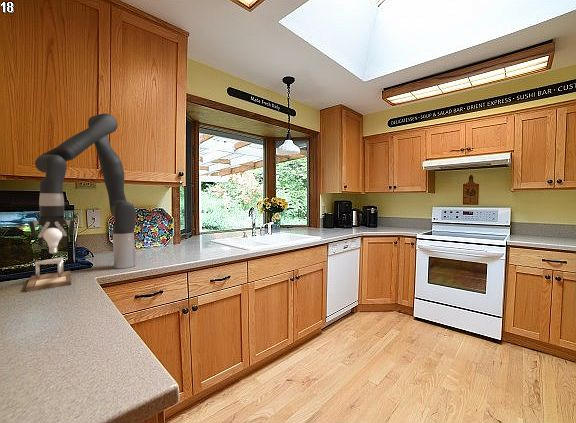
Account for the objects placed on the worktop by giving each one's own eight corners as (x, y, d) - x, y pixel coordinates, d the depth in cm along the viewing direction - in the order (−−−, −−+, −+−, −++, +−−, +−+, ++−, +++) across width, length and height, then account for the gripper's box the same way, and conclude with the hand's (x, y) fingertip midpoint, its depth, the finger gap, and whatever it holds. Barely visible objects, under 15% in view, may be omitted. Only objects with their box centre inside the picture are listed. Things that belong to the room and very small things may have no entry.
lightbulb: (39, 255, 106) (38, 227, 106) (48, 252, 112) (48, 226, 112) (58, 254, 108) (57, 227, 107) (66, 251, 114) (66, 225, 113)
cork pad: (66, 277, 113) (66, 276, 113) (65, 281, 108) (65, 280, 108) (36, 281, 108) (36, 280, 108) (35, 286, 102) (35, 284, 102)
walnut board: (70, 273, 124) (70, 270, 124) (70, 284, 109) (70, 281, 109) (31, 279, 116) (31, 275, 116) (26, 291, 100) (25, 287, 100)
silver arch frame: (63, 272, 121) (63, 256, 121) (63, 277, 114) (62, 260, 114) (36, 275, 116) (36, 259, 115) (34, 281, 108) (34, 263, 108)
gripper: (74, 204, 117) (75, 243, 117) (28, 204, 108) (30, 246, 108) (74, 204, 111) (75, 245, 111) (26, 205, 102) (27, 249, 102)
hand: (53, 245), depth 110 cm, fingers closed on lightbulb, 6 cm apart
